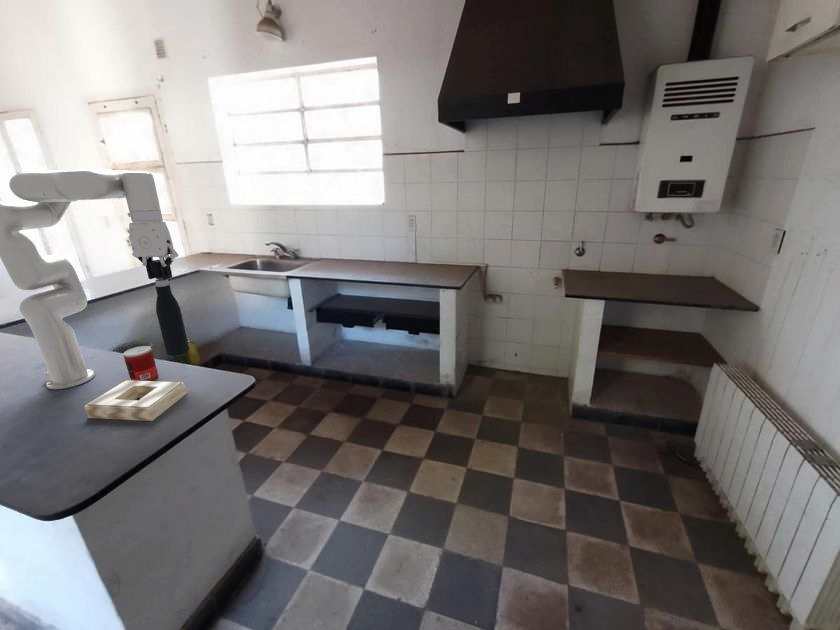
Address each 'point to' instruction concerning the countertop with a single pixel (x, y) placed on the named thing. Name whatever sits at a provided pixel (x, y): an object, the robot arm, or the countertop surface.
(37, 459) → the countertop surface
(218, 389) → the countertop surface
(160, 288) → the black water bottle
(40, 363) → the countertop surface
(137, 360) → the canned food
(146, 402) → the holder block
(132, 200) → the robot arm
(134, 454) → the countertop surface
